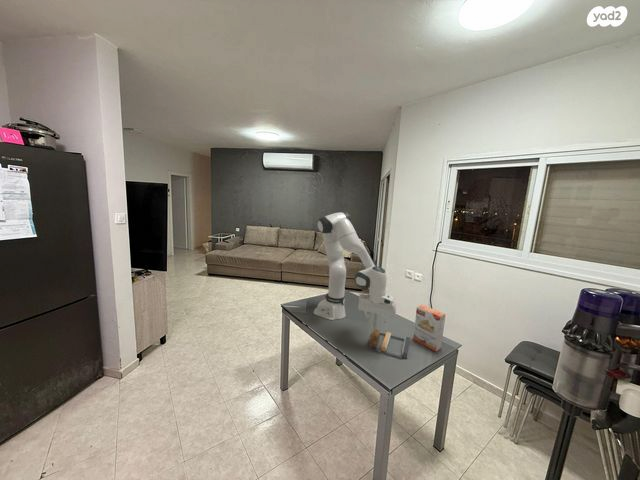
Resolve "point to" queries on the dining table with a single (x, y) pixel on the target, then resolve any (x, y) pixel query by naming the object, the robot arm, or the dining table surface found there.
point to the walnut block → (374, 338)
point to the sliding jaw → (386, 342)
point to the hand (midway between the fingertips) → (376, 320)
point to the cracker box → (429, 327)
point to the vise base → (404, 351)
